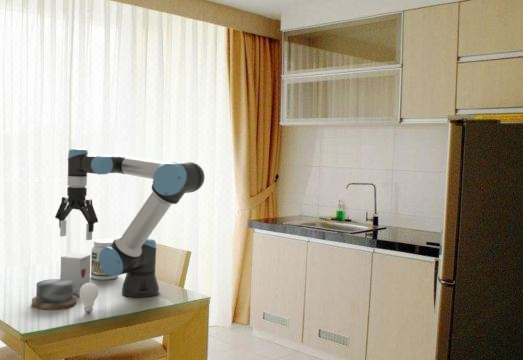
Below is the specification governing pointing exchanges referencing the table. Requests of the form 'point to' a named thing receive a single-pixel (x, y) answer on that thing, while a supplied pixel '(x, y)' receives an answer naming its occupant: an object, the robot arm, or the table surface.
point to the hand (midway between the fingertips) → (75, 237)
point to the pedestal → (54, 295)
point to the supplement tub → (95, 264)
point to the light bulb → (88, 295)
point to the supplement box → (76, 270)
